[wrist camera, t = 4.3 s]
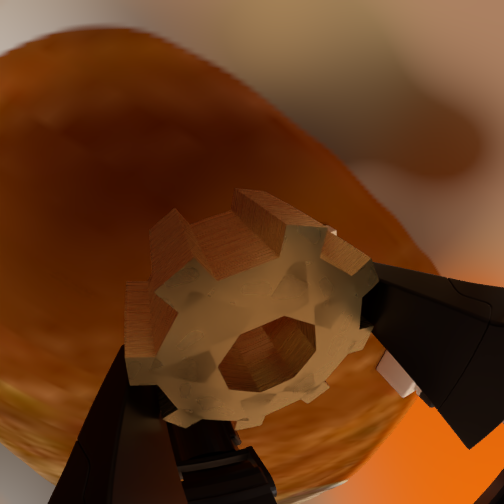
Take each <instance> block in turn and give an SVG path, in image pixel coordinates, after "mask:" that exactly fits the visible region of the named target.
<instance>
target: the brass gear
mask: <svg viewBox="0 0 504 504" xmlns="http://www.w3.org/2000/svg"><path fill="white" fill-rule="evenodd" d="M327 229H328V228H327V227H326V226H324V225H322V224H321V223H319V222H317V221H316V220H314V219H312V218H311V217H309V216H307V215H306V214H304V213H302V212H300V211H299V210H297V209H295V208H294V207H292V206H290V205H288V204H287V203H285V202H283V201H281V200H280V199H278V198H276V197H274V196H272V195H271V194H269V193H267V192H265V191H257V190H248V189H238V188H234V194H233V200H232V206H231V210H230V211H227V212H224V213H221V214H218V215H215V216H212V217H209V218H206V219H203V220H201V221H198V222H195V223H192V224H189V223H188V222H187V221H186V220H185V219H184V218H183V216H182V215H181V214H180V213H179V212H178V211H177V210H176V208H174V209H173V210H171V211H170V212H169V213H168V214H167V215H166V216H164V217H163V218H162V219H161V220H160V221H159V222H158V223H157V224H155V225H154V226H153V227H152V228H151V229H150V230H149V237H150V253H151V266H152V273H151V275H150V277H149V279H148V281H126V298H125V361H126V367H127V373H128V378H129V383H130V386H132V385H156V387H157V392H158V398H159V404H160V412H161V417H162V419H163V420H165V421H168V422H170V423H173V424H175V425H178V426H181V427H184V428H187V427H189V426H191V425H192V424H194V423H196V422H198V421H199V420H201V419H208V420H226V421H231V423H232V425H233V428H234V430H240V429H245V428H250V427H254V426H259V425H262V422H263V420H264V417H265V415H267V414H269V413H271V412H274V411H276V410H278V409H280V408H283V407H285V406H287V405H289V404H291V403H293V402H295V401H298V400H300V399H301V400H303V401H304V402H306V403H309V402H311V401H312V400H314V399H315V398H316V397H318V396H319V395H320V394H322V393H323V392H324V391H326V390H327V389H328V388H330V386H329V385H328V384H327V382H326V381H325V380H326V379H327V378H328V376H329V375H330V374H331V373H332V372H333V371H334V370H335V368H336V367H337V366H338V365H339V364H340V362H341V361H342V360H343V359H344V358H345V356H346V355H347V354H348V353H352V352H355V351H359V350H362V349H363V347H364V345H365V343H366V341H367V339H368V337H369V335H370V333H371V331H372V329H373V327H374V326H373V325H372V324H371V323H370V322H369V321H368V320H367V319H365V318H364V317H363V316H362V315H361V305H362V297H363V296H364V295H366V294H367V293H368V292H369V291H370V290H371V289H372V288H373V287H374V286H375V285H376V284H377V283H378V282H379V279H378V276H377V273H376V270H375V267H374V265H373V262H372V259H371V258H370V257H368V256H367V255H365V254H364V253H362V252H361V251H359V250H358V249H356V248H355V247H353V246H352V245H350V244H348V243H347V242H345V241H344V240H342V239H341V238H339V237H337V236H336V235H334V234H333V233H331V232H330V231H328V230H327Z"/></svg>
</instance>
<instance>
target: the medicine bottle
mask: <svg viewBox="0 0 504 504" xmlns="http://www.w3.org/2000/svg"><path fill="white" fill-rule="evenodd" d="M376 369H377V371H378V372H379V373H380V374H381V375H382V376H383V377H384V378H385V379H386V380H387V382H388V383H389V384H390V385H391V386H392V387H393V388H394V389H395V390H396V391H397V392H398V393H399V394H400V396H401V397H406V396H407V395H409V394H410V393H412V392H414V391H415V390H417V392H416V393H417V395H418V396H419V397H420V398H421V399H422V400H423V401H424V402H425V403H426V404H427V405H428V406H429V407H435V406H434V405H433V404H432V403H431V402H430V400H429V399H428V398H427V397H426V395H425V394H424V393H423V392H422V391H421V389H420V388H419V387H418V386H417V385H416V383H415V382H414V381H413V380H412V379H411V377H410V376H409V375H408V374H407V373H406V371H405V370H404V369H403V368H402V367H401V366H400V364H399V363H398V362H397V361H396V360H395V359H394V357H393V356H392V355H391V354H390V353H389V352H388V351H387V350H386V352H385V353H384V355H383V357H382V359H381V361H380V362H379V364H378V366H377V368H376Z"/></svg>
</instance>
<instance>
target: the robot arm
mask: <svg viewBox="0 0 504 504" xmlns="http://www.w3.org/2000/svg"><path fill="white" fill-rule="evenodd" d="M373 265H374V267H375V270H376V273H377V276H378V279H379V282H378V283H377V284H376V285H375V286H374V287H373V288H372V289H371V290H370V291H369V292H368V293H367V294H366V295H364V296H363V297H362V305H361V315H362V316H363V317H364V318H365V319H367V320H368V321H369V322H370V323H371V324H372V325H373V326H374V327H373V329H372V331H371V332H372V333H373V335H374V336H375V337H376V338H377V339H378V340H379V341H380V342H381V344H382V345H383V346H384V347H385V348H386V349H387V351H388V352H389V353H390V354H391V355H392V356H393V357H394V359H395V360H396V361H397V362H398V363H399V364H400V366H401V367H402V368H403V369H404V370H405V371H406V373H407V374H408V375H409V376H410V377H411V379H412V380H413V381H414V382H415V383H416V385H417V386H418V387H419V388H420V389H421V391H422V392H423V393H424V394H425V395H426V397H427V398H428V399H429V400H430V402H431V403H432V404H433V405H434V406H435V408H436V409H438V412H439V413H440V414H441V415H442V417H443V418H444V419H445V420H446V422H447V423H448V424H449V425H450V427H451V428H452V429H453V430H454V432H455V433H456V434H457V436H458V437H459V438H460V439H461V441H462V442H463V443H464V445H465V446H466V447H467V448H468V449H469V450H470V449H471V448H472V447H473V446H475V445H476V444H477V443H479V442H480V441H481V440H482V439H483V438H485V437H486V436H487V435H488V434H489V433H490V432H492V431H493V430H494V429H495V428H496V427H497V426H498V425H499V424H500V423H503V424H504V288H503V287H496V286H489V285H483V284H476V283H470V282H465V281H460V280H456V279H451V278H448V279H447V278H446V277H442V276H437V275H433V274H428V273H423V272H418V271H414V270H409V269H404V268H399V267H395V266H390V265H385V264H380V263H375V262H373ZM77 439H78V441H76V442H75V445H74V447H73V450H72V452H71V454H70V457H69V459H68V461H67V464H66V466H65V468H64V470H63V472H62V474H61V477H60V479H59V481H58V483H57V485H56V487H55V489H54V491H53V493H52V495H51V497H50V500H49V502H48V504H277V503H276V501H275V498H274V497H276V495H277V491H276V487H275V484H274V481H273V479H272V477H271V475H270V473H269V472H268V470H267V469H266V467H265V466H264V464H263V463H262V461H261V460H260V458H259V457H258V455H257V454H256V452H255V451H254V449H253V447H252V446H249V447H246V448H245V449H241V450H239V449H238V447H237V445H240V444H241V440H240V438H239V435H238V433H237V431H236V430H234V428H233V425H232V423H231V421H226V420H208V419H201V420H199V421H198V422H196V423H194V424H192V425H191V426H189V427H187V428H184V427H181V426H178V425H175V424H173V423H170V422H168V421H165V420H163V419H162V417H161V412H160V404H159V398H158V392H157V387H156V385H132V386H130V383H129V378H128V373H127V367H126V361H125V344H124V345H122V346H121V348H120V350H119V352H118V354H117V356H116V357H115V359H114V361H113V363H112V365H111V367H110V369H109V371H108V373H107V375H106V377H105V379H104V381H103V383H102V385H101V387H100V389H99V391H98V394H97V396H96V398H95V400H94V402H93V404H92V406H91V408H90V411H89V413H88V415H87V417H86V419H85V422H84V424H83V426H82V429H81V431H80V433H79V435H78V438H77ZM181 479H183V480H184V481H181ZM474 504H504V469H503V470H502V471H501V472H500V474H499V475H498V476H497V478H496V479H495V480H494V481H493V482H492V484H491V485H490V486H489V487H488V488H487V489H486V491H485V492H484V493H483V494H482V495H481V496H480V497H479V498H478V499H477V500H476V501H475V502H474Z"/></svg>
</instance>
